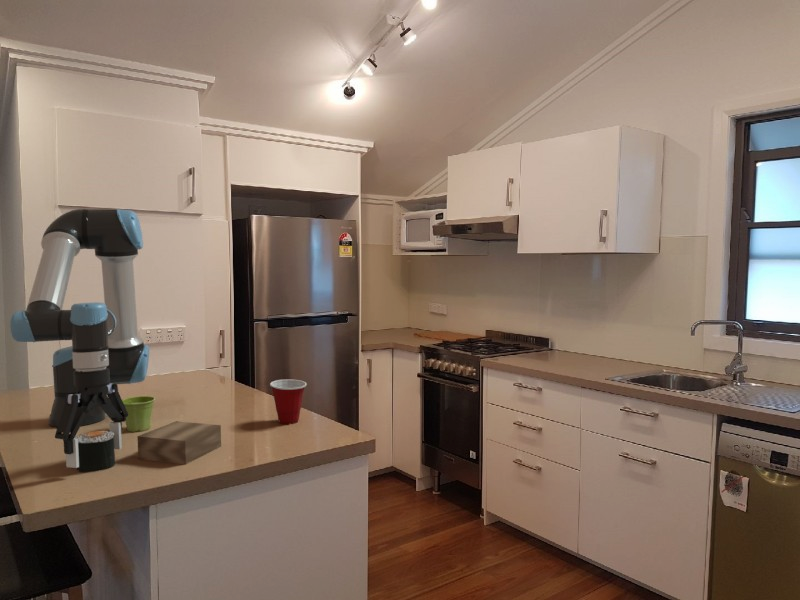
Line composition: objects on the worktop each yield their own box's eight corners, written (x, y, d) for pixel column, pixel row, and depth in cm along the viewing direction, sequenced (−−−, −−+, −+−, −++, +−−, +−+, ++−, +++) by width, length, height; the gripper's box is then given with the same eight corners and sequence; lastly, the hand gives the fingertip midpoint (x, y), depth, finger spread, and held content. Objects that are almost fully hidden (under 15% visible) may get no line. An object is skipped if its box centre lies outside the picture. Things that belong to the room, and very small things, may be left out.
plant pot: (163, 426, 171) (162, 397, 170) (139, 435, 162) (138, 404, 161) (138, 423, 174) (137, 395, 173) (113, 432, 165) (112, 402, 164)
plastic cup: (290, 428, 166) (289, 387, 166) (263, 423, 172) (262, 383, 171) (315, 419, 175) (314, 380, 175) (288, 415, 181) (287, 377, 180)
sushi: (78, 463, 139) (76, 430, 139) (116, 458, 142) (115, 426, 142) (73, 474, 132) (72, 440, 131) (114, 468, 135) (113, 435, 135)
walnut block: (138, 460, 142) (137, 436, 142) (176, 443, 155) (176, 421, 155) (186, 465, 138) (185, 440, 137) (221, 447, 151) (220, 425, 151)
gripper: (61, 379, 123) (66, 477, 124) (141, 360, 147) (144, 442, 148) (33, 377, 124) (37, 474, 126) (115, 359, 149) (119, 440, 150)
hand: (95, 457), depth 137 cm, fingers open, 13 cm apart
